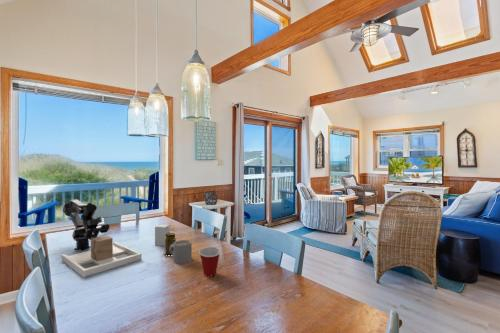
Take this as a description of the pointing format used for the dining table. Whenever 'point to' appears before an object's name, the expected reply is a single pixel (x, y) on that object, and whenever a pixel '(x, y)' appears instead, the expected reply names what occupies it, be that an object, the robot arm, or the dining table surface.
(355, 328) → the dining table surface
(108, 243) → the walnut block
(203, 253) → the plastic cup
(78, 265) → the white recessed tray
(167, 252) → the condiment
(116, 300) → the dining table surface
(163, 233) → the supplement box
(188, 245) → the coffee mug
